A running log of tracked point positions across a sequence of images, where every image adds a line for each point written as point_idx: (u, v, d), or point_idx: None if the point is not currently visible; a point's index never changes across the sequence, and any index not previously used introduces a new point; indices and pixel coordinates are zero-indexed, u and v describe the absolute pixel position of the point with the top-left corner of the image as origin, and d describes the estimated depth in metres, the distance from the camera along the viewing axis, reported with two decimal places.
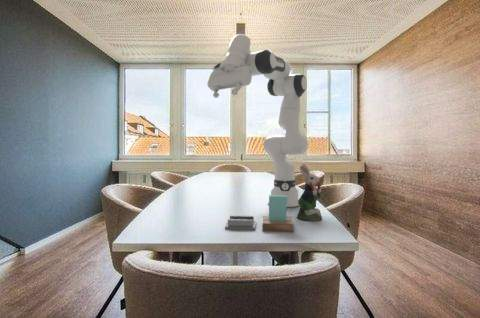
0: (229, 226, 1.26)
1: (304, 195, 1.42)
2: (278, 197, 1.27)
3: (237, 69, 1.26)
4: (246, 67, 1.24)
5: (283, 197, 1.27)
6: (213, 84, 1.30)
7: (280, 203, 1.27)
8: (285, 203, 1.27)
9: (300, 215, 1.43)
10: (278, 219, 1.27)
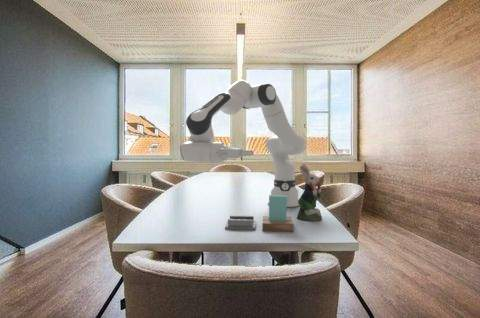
0: (229, 226, 1.26)
1: (304, 195, 1.42)
2: (278, 197, 1.27)
3: None
4: (223, 157, 1.22)
5: (283, 197, 1.27)
6: None
7: (280, 203, 1.27)
8: (285, 203, 1.27)
9: (300, 215, 1.43)
10: (278, 219, 1.27)
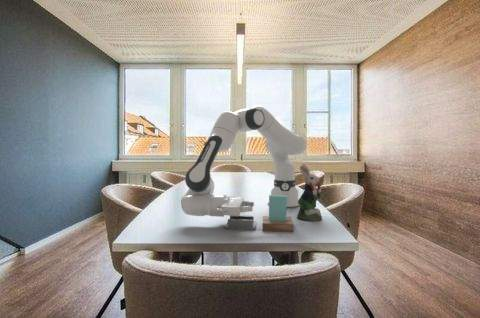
0: (229, 226, 1.26)
1: (304, 195, 1.42)
2: (278, 197, 1.27)
3: None
4: (224, 214, 1.22)
5: (283, 197, 1.27)
6: None
7: (280, 203, 1.27)
8: (285, 203, 1.27)
9: (300, 215, 1.43)
10: (278, 219, 1.27)
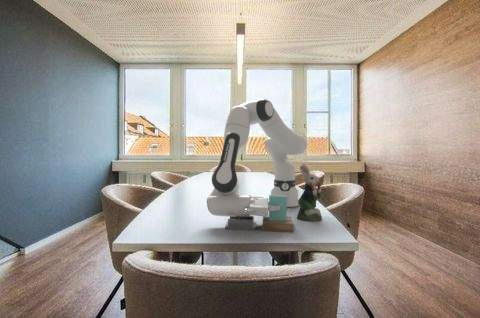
0: (229, 226, 1.26)
1: (304, 195, 1.42)
2: (278, 197, 1.27)
3: None
4: None
5: (283, 197, 1.27)
6: None
7: (280, 203, 1.27)
8: (285, 203, 1.27)
9: (300, 215, 1.43)
10: (278, 219, 1.27)
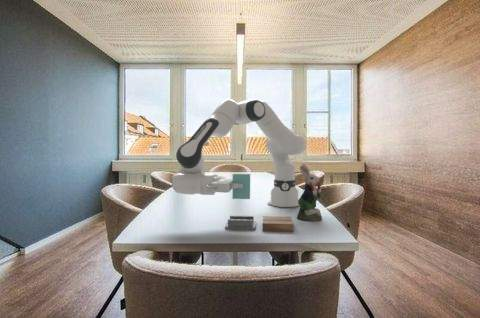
0: (229, 226, 1.26)
1: (304, 195, 1.42)
2: (241, 175, 1.28)
3: None
4: (213, 191, 1.22)
5: (246, 175, 1.28)
6: None
7: (243, 181, 1.28)
8: (248, 181, 1.28)
9: (300, 215, 1.43)
10: (241, 197, 1.28)
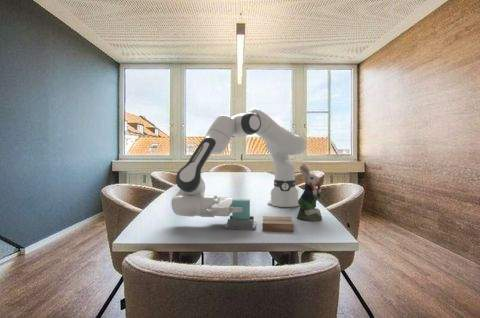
0: (229, 226, 1.26)
1: (304, 195, 1.42)
2: (241, 201, 1.28)
3: None
4: None
5: (246, 201, 1.28)
6: None
7: (243, 207, 1.28)
8: (248, 207, 1.28)
9: (300, 215, 1.43)
10: None
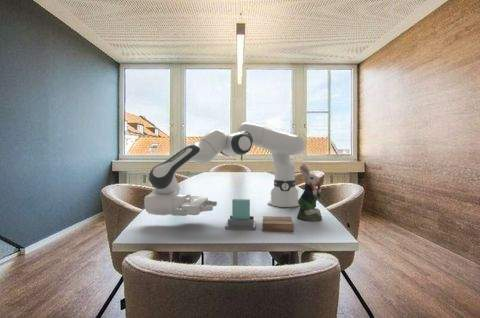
0: (229, 226, 1.26)
1: (304, 195, 1.42)
2: (241, 201, 1.28)
3: None
4: (183, 214, 1.24)
5: (246, 201, 1.28)
6: None
7: (243, 207, 1.28)
8: (248, 207, 1.28)
9: (300, 215, 1.43)
10: None
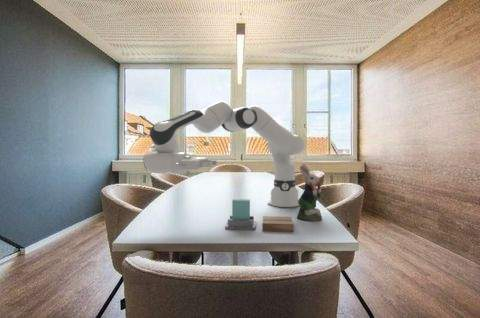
0: (229, 226, 1.26)
1: (304, 195, 1.42)
2: (241, 201, 1.28)
3: None
4: (183, 169, 1.23)
5: (246, 201, 1.28)
6: None
7: (243, 207, 1.28)
8: (248, 207, 1.28)
9: (300, 215, 1.43)
10: None
